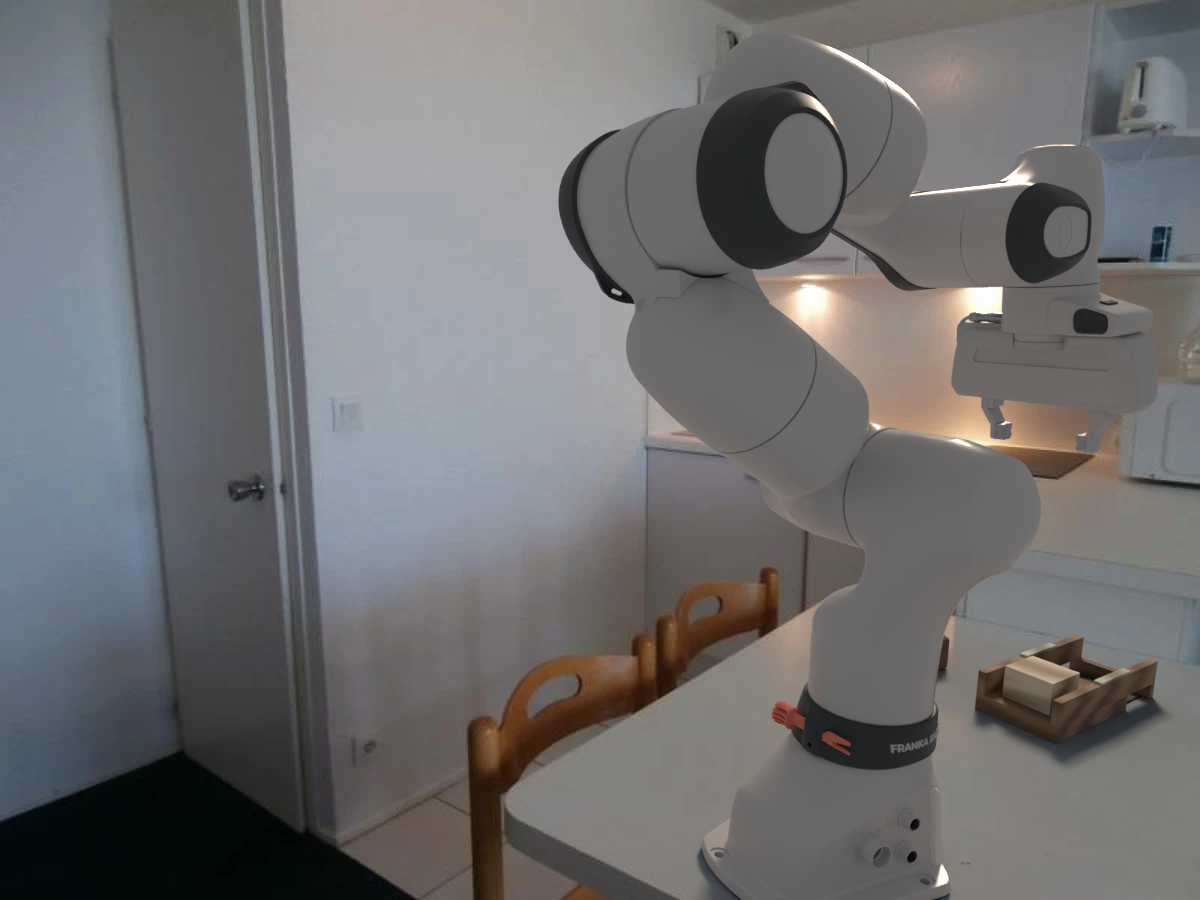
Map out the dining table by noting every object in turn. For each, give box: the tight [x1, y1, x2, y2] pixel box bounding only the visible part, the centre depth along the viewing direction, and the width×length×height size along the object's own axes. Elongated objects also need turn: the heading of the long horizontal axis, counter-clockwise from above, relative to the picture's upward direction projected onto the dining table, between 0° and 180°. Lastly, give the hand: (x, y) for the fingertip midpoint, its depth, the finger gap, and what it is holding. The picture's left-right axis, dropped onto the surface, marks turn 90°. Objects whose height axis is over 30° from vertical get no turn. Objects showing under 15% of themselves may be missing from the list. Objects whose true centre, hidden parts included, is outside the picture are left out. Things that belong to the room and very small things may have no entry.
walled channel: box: [974, 634, 1159, 744], centre depth 108 cm, size 23×10×5 cm, turn 123°
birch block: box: [1002, 656, 1080, 716], centre depth 105 cm, size 6×6×4 cm
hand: (1042, 444), depth 90 cm, fingers open, 8 cm apart
